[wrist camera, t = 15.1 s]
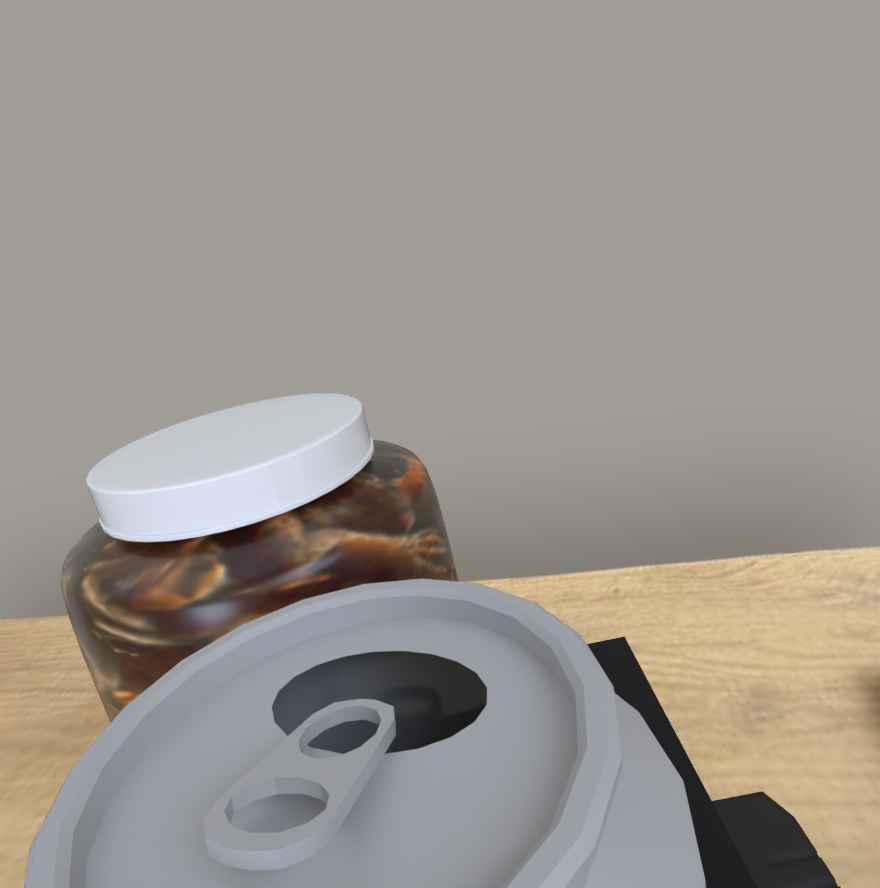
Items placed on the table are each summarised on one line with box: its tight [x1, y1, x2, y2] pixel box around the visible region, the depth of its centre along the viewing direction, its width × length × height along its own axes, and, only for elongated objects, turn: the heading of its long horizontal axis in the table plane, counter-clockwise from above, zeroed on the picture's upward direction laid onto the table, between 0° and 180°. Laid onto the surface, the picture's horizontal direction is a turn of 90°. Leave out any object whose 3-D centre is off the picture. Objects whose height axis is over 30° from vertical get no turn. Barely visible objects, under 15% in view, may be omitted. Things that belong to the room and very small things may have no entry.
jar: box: [61, 393, 458, 722], centre depth 22 cm, size 12×12×15 cm
